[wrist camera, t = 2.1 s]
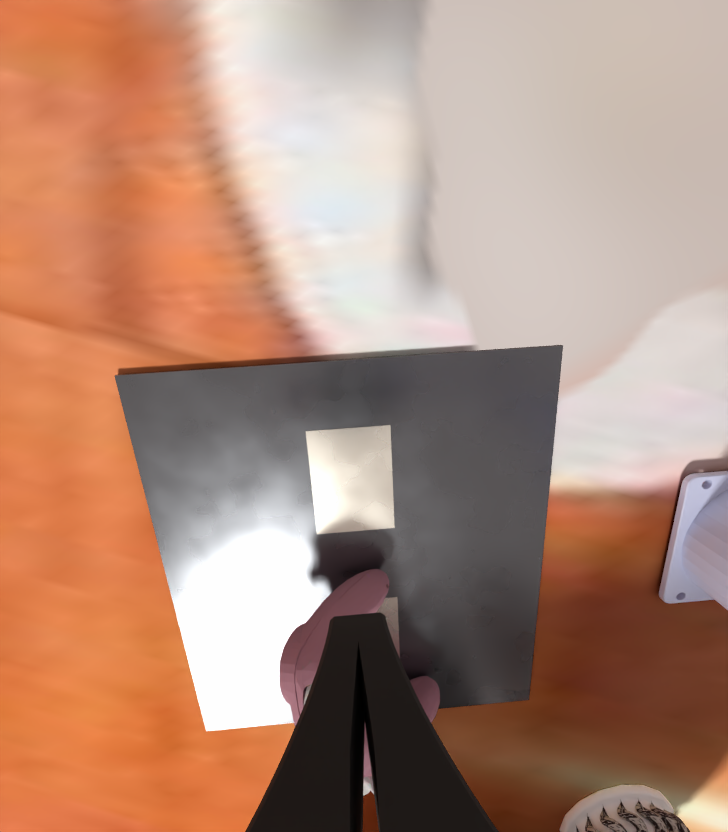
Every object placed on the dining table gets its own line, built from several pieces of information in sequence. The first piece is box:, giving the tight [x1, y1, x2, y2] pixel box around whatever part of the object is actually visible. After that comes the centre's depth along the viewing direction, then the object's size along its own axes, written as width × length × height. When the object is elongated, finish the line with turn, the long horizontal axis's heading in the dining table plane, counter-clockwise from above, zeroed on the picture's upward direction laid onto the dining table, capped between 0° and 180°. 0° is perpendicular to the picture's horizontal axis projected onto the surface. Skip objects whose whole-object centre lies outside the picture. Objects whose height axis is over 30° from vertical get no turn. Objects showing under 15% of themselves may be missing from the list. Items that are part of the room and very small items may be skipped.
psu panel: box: [115, 345, 563, 731], centre depth 20 cm, size 20×22×1 cm
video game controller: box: [279, 569, 440, 796], centre depth 19 cm, size 10×5×7 cm, turn 21°
